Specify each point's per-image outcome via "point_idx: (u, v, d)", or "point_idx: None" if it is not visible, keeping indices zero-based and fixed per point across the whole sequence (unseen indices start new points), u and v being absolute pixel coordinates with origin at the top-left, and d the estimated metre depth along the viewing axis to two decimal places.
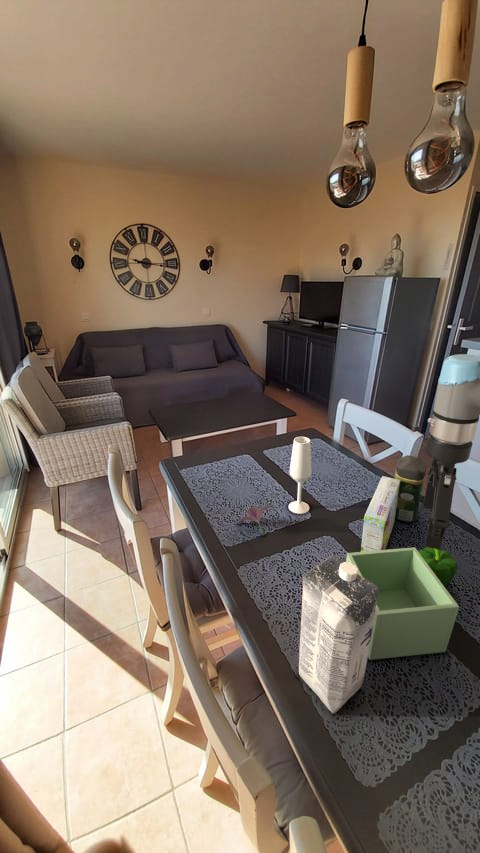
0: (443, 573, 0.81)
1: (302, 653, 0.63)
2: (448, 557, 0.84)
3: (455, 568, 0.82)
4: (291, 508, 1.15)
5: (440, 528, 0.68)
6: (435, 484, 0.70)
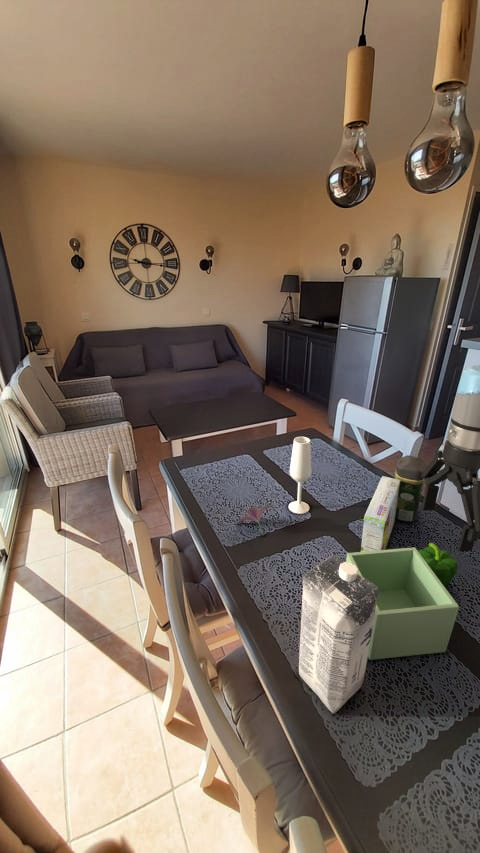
0: (443, 573, 0.81)
1: (302, 653, 0.63)
2: (448, 557, 0.84)
3: (455, 568, 0.82)
4: (291, 508, 1.15)
5: (478, 532, 0.71)
6: (463, 491, 0.72)
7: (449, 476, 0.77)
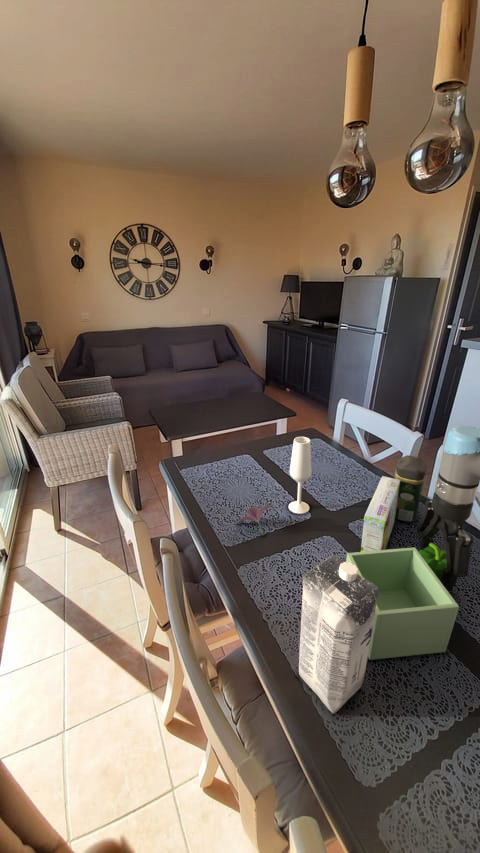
0: None
1: (302, 653, 0.63)
2: None
3: None
4: (291, 508, 1.15)
5: None
6: (448, 540, 0.78)
7: (438, 524, 0.82)
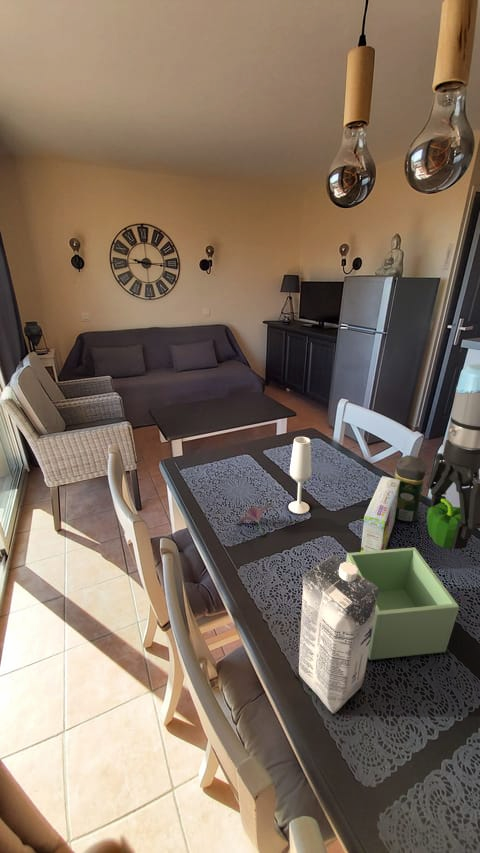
0: None
1: (302, 653, 0.63)
2: None
3: None
4: (291, 508, 1.15)
5: (471, 529, 0.73)
6: (462, 491, 0.73)
7: (450, 476, 0.76)
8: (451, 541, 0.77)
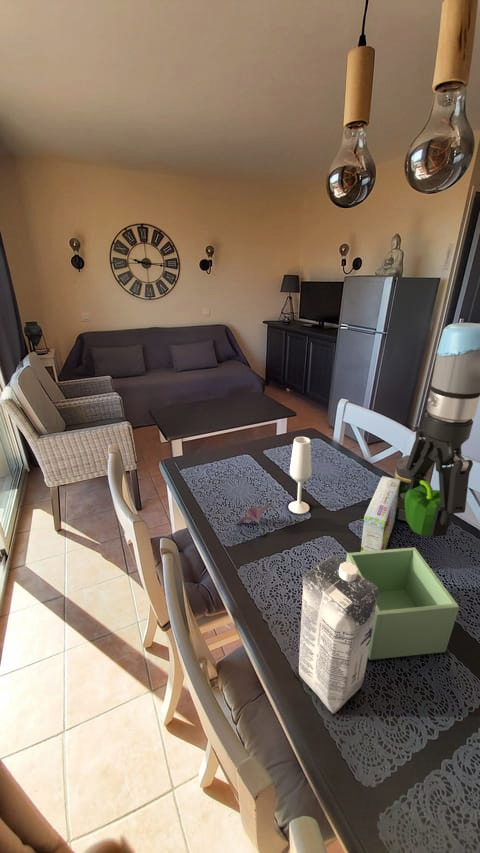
0: None
1: (302, 653, 0.63)
2: None
3: None
4: (291, 508, 1.15)
5: (451, 514, 0.65)
6: (441, 470, 0.64)
7: (430, 454, 0.67)
8: (429, 528, 0.69)
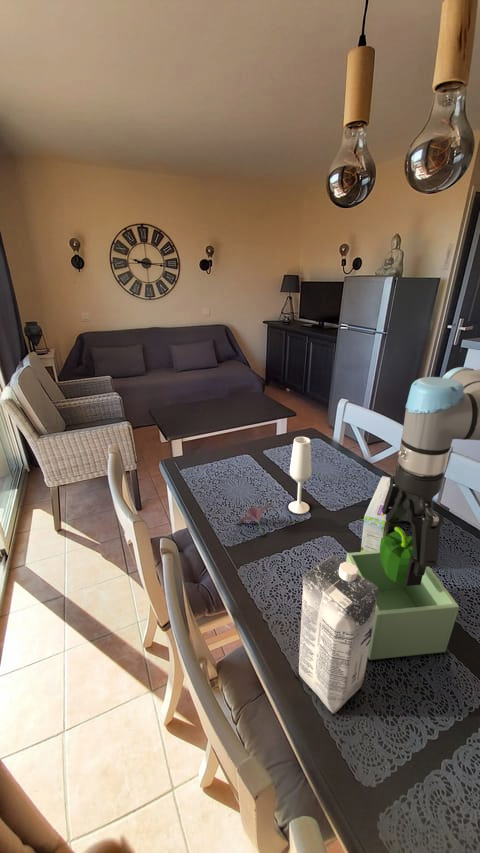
0: None
1: (302, 653, 0.63)
2: None
3: None
4: (291, 508, 1.15)
5: None
6: (413, 522, 0.63)
7: (403, 503, 0.67)
8: (404, 577, 0.68)
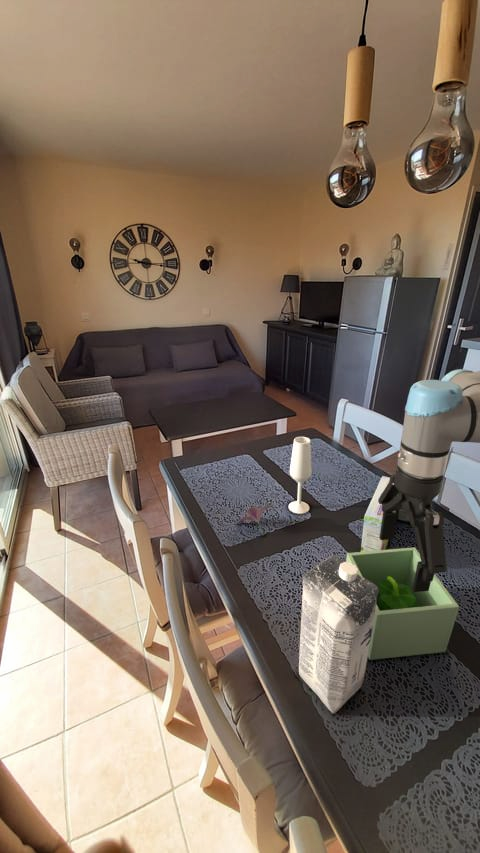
0: None
1: (302, 653, 0.63)
2: (408, 593, 0.75)
3: (414, 606, 0.73)
4: (291, 508, 1.15)
5: None
6: (416, 524, 0.63)
7: (403, 505, 0.67)
8: None
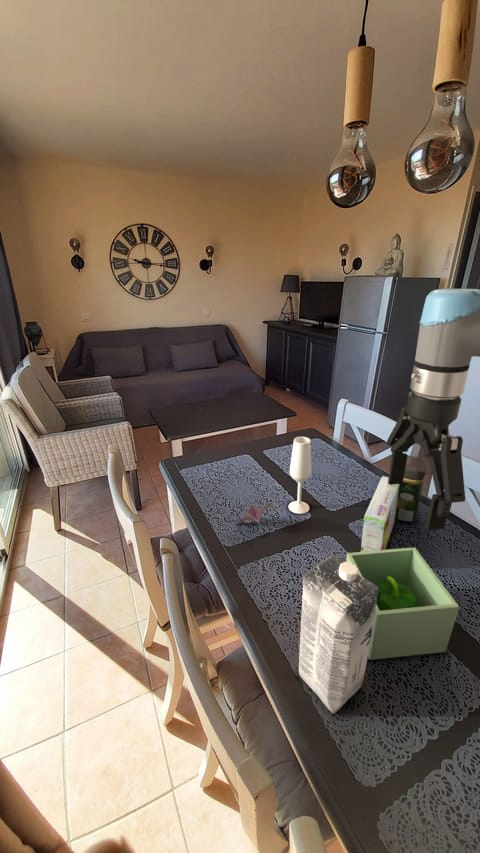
0: None
1: (302, 653, 0.63)
2: (407, 593, 0.75)
3: (414, 606, 0.73)
4: (291, 508, 1.15)
5: (449, 503, 0.56)
6: (431, 453, 0.57)
7: (416, 437, 0.61)
8: None
